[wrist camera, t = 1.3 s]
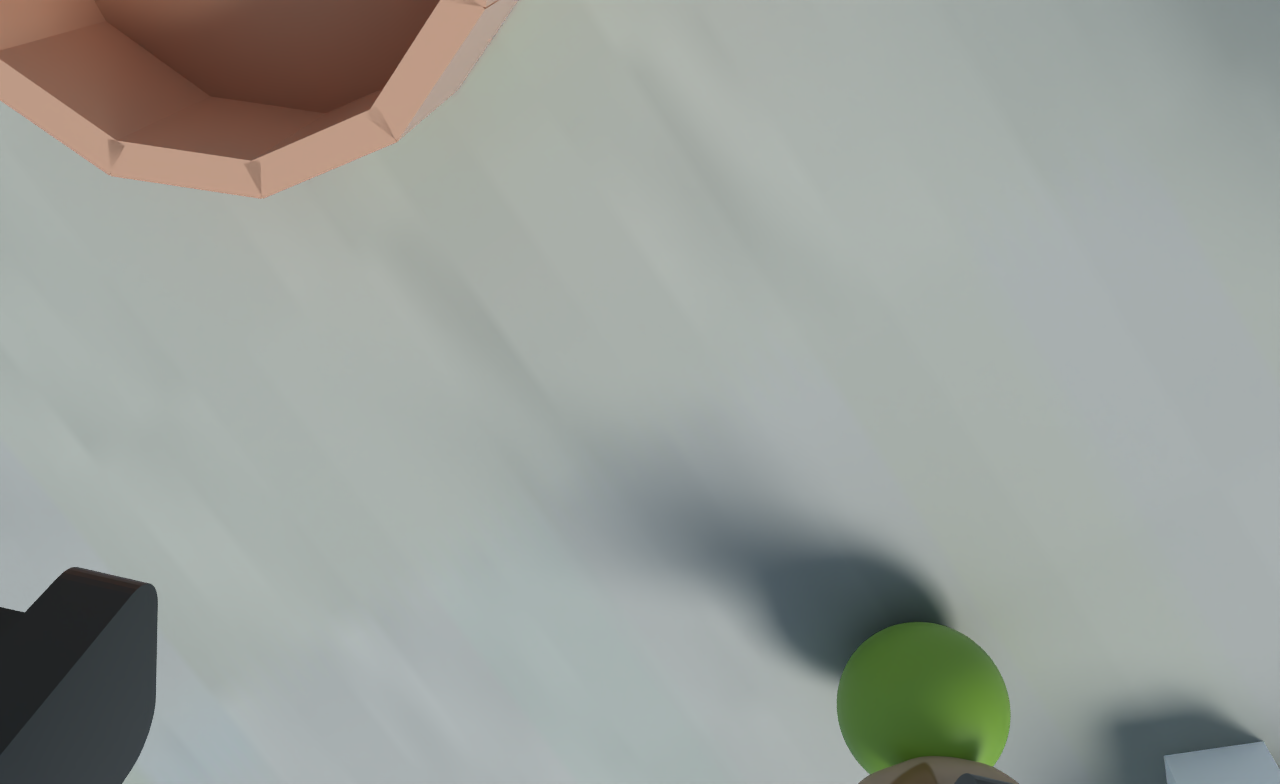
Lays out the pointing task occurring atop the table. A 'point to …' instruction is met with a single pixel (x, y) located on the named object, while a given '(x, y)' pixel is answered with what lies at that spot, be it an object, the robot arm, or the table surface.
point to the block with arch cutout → (1223, 766)
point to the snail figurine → (923, 707)
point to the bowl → (236, 81)
